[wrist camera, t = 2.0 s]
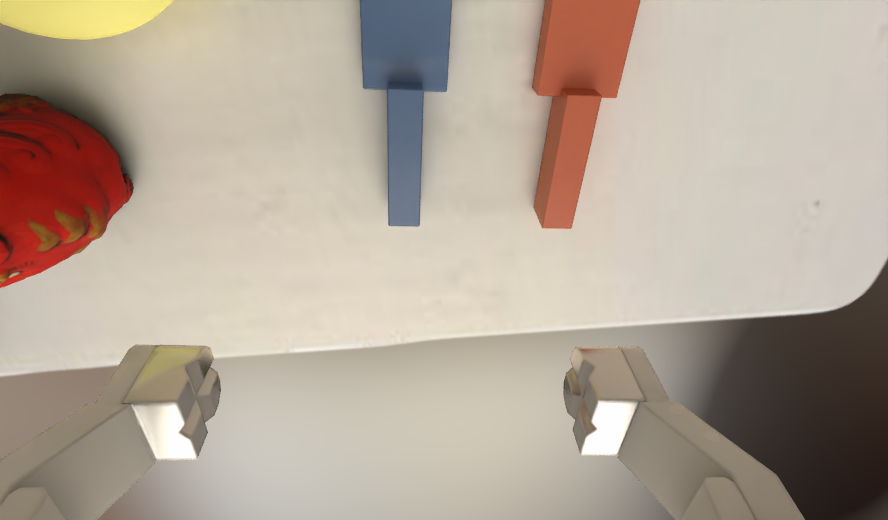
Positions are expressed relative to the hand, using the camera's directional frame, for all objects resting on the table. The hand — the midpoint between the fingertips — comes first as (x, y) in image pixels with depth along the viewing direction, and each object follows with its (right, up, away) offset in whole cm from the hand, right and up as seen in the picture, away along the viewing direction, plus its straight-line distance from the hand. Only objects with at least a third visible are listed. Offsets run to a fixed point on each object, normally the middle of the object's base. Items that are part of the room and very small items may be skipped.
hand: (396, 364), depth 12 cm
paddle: (-1, +10, +13) cm, 16 cm away
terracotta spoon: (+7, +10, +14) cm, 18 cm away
